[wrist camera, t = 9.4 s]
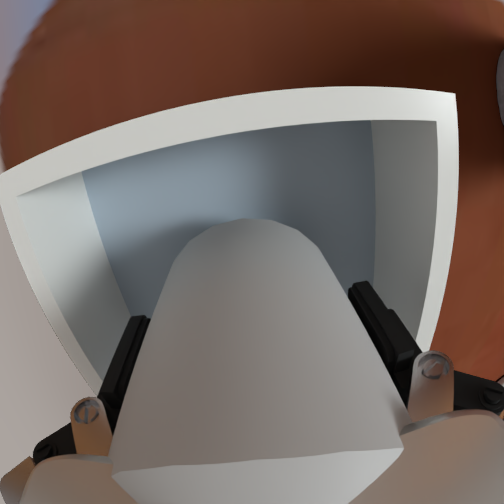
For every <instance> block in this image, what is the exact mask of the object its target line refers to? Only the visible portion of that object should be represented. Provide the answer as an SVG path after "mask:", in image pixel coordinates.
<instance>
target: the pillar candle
mask: <svg viewBox="0 0 504 504" xmlns="http://www.w3.org/2000/svg"><path fill="white" fill-rule="evenodd" d="M496 87H497V98H498V105H499V110H500V116H501V120H502V123H503V126H504V49H503V51H502V52H501V54H500V57H499V60H498V65H497V73H496Z"/></svg>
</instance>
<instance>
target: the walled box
mask: <svg viewBox="0 0 504 504" xmlns="http://www.w3.org/2000/svg"><path fill="white" fill-rule="evenodd" d="M458 175H459V142H458V121H457V108H456V97H455V94H454V93H447V92H440V91H431V90H421V89H410V88H395V87H368V86H342V87H315V88H299V89H287V90H277V91H268V92H260V93H252V94H245V95H238V96H232V97H226V98H220V99H215V100H210V101H205V102H200V103H195V104H190V105H186V106H181V107H177V108H173V109H169V110H165V111H161V112H157V113H153V114H150V115H146V116H143V117H139V118H136V119H132V120H129V121H126V122H123V123H120V124H116V125H113V126H110V127H107V128H105V129H102V130H99V131H96V132H93V133H91V134H88V135H85V136H83V137H80V138H77V139H75V140H72V141H70V142H67V143H65V144H63V145H60V146H58V147H55V148H53V149H51V150H49V151H46V152H44V153H42V154H40V155H38V156H35V157H33V158H31V159H29V160H27V161H25V162H23V163H21V164H19V165H17V166H15V167H13V168H11V169H9V170H8V171H6V172H4V173H2V174H0V206H1V210H2V213H3V216H4V219H5V223H6V226H7V229H8V231H9V234H10V237H11V240H12V243H13V245H14V248H15V250H16V253H17V256H18V258H19V260H20V263H21V265H22V268H23V270H24V272H25V275H26V277H27V279H28V281H29V284H30V285H31V288H32V290H33V292H34V294H35V296H36V298H37V300H38V302H39V304H40V306H41V308H42V310H43V312H44V314H45V316H46V317H47V319H48V321H49V323H50V325H51V327H52V329H53V330H54V332H55V334H56V335H57V337H58V339H59V340H60V342H61V344H62V346H63V347H64V349H65V350H66V352H67V353H68V355H69V357H70V358H71V360H72V361H73V363H74V364H75V366H76V367H77V369H78V370H79V372H80V373H81V375H82V376H83V377H84V379H85V381H86V382H87V383H88V385H89V386H90V387H91V389H92V390H93V392H94V393H95V394H96V395H97V396H98V393H99V391H100V388H101V385H102V383H103V380H104V378H105V375H106V373H107V370H108V368H109V365H110V363H111V360H112V358H113V356H114V353H115V351H116V349H117V346H118V344H119V342H120V339H121V337H122V335H123V332H124V330H125V328H126V326H127V323H128V321H129V319H130V317H131V316H138V315H145V316H146V317H147V318H150V319H151V318H152V315H153V313H154V310H155V307H156V305H157V302H158V299H159V297H160V294H161V292H162V289H163V287H164V284H165V282H166V279H167V277H168V274H169V272H170V269H171V267H172V264H173V262H174V260H175V259H176V258H177V256H178V255H179V254H180V252H181V251H182V250H183V248H184V247H185V246H186V245H187V243H188V242H189V241H190V240H192V239H193V238H195V237H196V236H198V235H199V234H201V233H202V232H204V231H206V230H207V229H209V228H210V227H212V226H214V225H218V224H222V223H225V222H229V221H233V220H237V219H241V218H246V219H265V220H273V221H276V222H278V223H281V224H284V225H286V226H289V227H291V228H294V229H297V230H299V231H300V232H301V233H302V234H303V235H304V236H306V237H307V238H308V239H309V240H310V241H312V242H313V243H314V244H315V245H316V246H317V247H318V248H319V250H320V251H321V253H322V255H323V256H324V258H325V260H326V261H327V263H328V265H329V266H330V268H331V270H332V271H333V273H334V275H335V276H336V278H337V280H338V282H339V283H340V285H341V287H342V288H343V290H344V292H345V294H346V295H347V297H348V288H350V287H352V285H353V283H356V282H361V281H366V280H367V281H368V282H369V283H370V284H371V286H372V287H373V289H374V290H375V291H376V293H377V294H378V296H379V297H380V298H381V300H382V301H383V303H384V304H385V306H386V307H387V309H393V310H394V311H395V312H396V314H397V315H398V317H399V318H400V320H401V321H402V322H403V324H404V325H405V327H406V328H407V330H408V331H409V333H410V334H411V336H412V337H413V339H414V340H415V341H416V343H417V345H418V346H419V348H420V349H421V351H422V352H426V351H429V348H430V345H431V342H432V338H433V335H434V331H435V328H436V324H437V320H438V317H439V313H440V309H441V304H442V300H443V296H444V291H445V286H446V281H447V276H448V271H449V265H450V259H451V253H452V246H453V239H454V231H455V222H456V211H457V197H458Z"/></svg>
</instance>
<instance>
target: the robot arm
mask: <svg viewBox="0 0 504 504" xmlns="http://www.w3.org/2000/svg"><path fill="white" fill-rule="evenodd" d="M348 299H349V301H350V302H351V304H352V306H353V308H354V310H355V311H356V313H357V315H358V317H359V318H360V320H361V322H362V324H363V326H364V328H365V329H366V331H367V333H368V335H369V337H370V339H371V340H372V342H373V344H374V346H375V348H376V350H377V352H378V354H379V356H380V357H381V359H382V361H383V363H384V365H385V367H386V369H387V371H388V373H389V375H390V377H391V379H392V381H393V383H394V385H395V387H396V389H397V391H398V393H399V395H400V397H401V399H402V401H403V403H404V405H405V407H406V409H407V412H408V414H409V416H410V418H411V420H412V422H413V423H411V424H408V425H405V426H404V427H403V429H402V430H401V432H400V435H399V437H400V439H401V441H402V444H403V446H404V450H403V451H402V453H401V454H400V456H399V457H398V458H397V459H396V460H395V462H394V463H393V464H392V465H391V466H389V467H388V468H387V469H386V470H385V471H384V472H383V473H382V474H381V475H380V476H379V477H378V478H377V479H376V480H375V481H374V482H373V483H371V484H370V485H369V486H368V487H367V488H366V489H365V490H363V491H362V492H361V493H360V494H359V495H358V496H356V497H355V498H354V499H353V500H352V501H350V502H349V503H348V504H504V377H503V378H501V379H500V380H499V381H498V382H495V381H491V380H488V379H484V378H480V377H476V376H473V375H469V374H466V373H462V372H459V371H455V370H454V367H453V363H452V361H451V359H450V358H449V357H448V356H447V355H446V354H444V353H442V352H439V351H426V352H422V351H421V349H420V348H419V346H418V345H417V343H416V341H415V340H414V339H413V337H412V336H411V334H410V333H409V331H408V330H407V328H406V327H405V325H404V324H403V322H402V321H401V320H400V318H399V317H398V315H397V314H396V312H395V311H394V310H393V309H387V307H386V306H385V304H384V303H383V301H382V300H381V298H380V297H379V296H378V294H377V293H376V291H375V290H374V289H373V287H372V286H371V284H370V283H369V282H368V281H367V280H366V281H361V282H356V283H353V285H352V287H350V288H348ZM150 321H151V319H150V318H147V317H146V316H145V315H138V316H131V317H130V319H129V321H128V323H127V326H126V328H125V330H124V332H123V335H122V337H121V339H120V342H119V344H118V346H117V349H116V351H115V353H114V356H113V358H112V360H111V363H110V365H109V368H108V370H107V373H106V375H105V378H104V380H103V383H102V385H101V388H100V391H99V393H98V396H97V398H96V397H87V398H83V399H81V400H79V401H78V402H77V403H76V404H75V405H74V407H73V408H72V411H71V414H70V415H71V416H70V419H71V422H70V423H69V424H67V425H66V426H64V427H63V428H61V429H59V430H58V431H56V432H55V433H53V434H51V435H50V436H48V437H46V438H45V439H43V440H41V441H40V442H39V443H38V444H37V445H36V447H35V449H34V451H33V458H31V457H30V456H29V457H28V458H26V459H25V460H24V461H23V462H21V463H20V464H19V465H17V466H16V467H15V468H14V469H12V470H11V471H10V472H8V473H7V474H6V475H4V476H3V478H1V481H0V491H1V494H2V496H3V499H4V501H5V503H6V504H139V503H137V502H136V501H135V500H134V499H133V498H132V497H131V496H130V495H129V494H128V493H127V492H126V491H125V490H124V489H123V488H122V487H121V486H120V485H119V484H118V483H117V482H116V481H115V480H114V479H113V478H112V477H111V474H112V469H113V465H114V464H113V462H112V460H111V459H110V458H109V457H108V454H109V450H110V446H111V442H112V439H113V435H114V431H115V428H116V424H117V421H118V417H119V414H120V411H121V407H122V404H123V401H124V397H125V394H126V391H127V388H128V385H129V382H130V378H131V375H132V372H133V369H134V366H135V363H136V360H137V357H138V354H139V352H140V349H141V346H142V343H143V340H144V337H145V334H146V332H147V329H148V326H149V323H150Z"/></svg>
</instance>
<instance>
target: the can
mask: <svg viewBox="0 0 504 504" xmlns="http://www.w3.org/2000/svg"><path fill="white" fill-rule="evenodd" d="M411 423H413V422H412V420H411V418H410V416H409V414H408V412H407V409H406V407H405V405H404V403H403V401H402V399H401V397H400V395H399V393H398V391H397V389H396V387H395V385H394V383H393V381H392V379H391V377H390V375H389V373H388V371H387V369H386V367H385V365H384V363H383V361H382V359H381V357H380V356H379V354H378V352H377V350H376V348H375V346H374V344H373V342H372V340H371V339H370V337H369V335H368V333H367V331H366V329H365V328H364V326H363V324H362V322H361V320H360V318H359V317H358V315H357V313H356V311H355V310H354V308H353V306H352V304H351V302H350V301H349V299H348V297H347V295H346V294H345V292H344V290H343V288H342V287H341V285H340V283H339V282H338V280H337V278H336V276H335V275H334V273H333V271H332V270H331V268H330V266H329V265H328V263H327V261H326V260H325V258H324V256H323V255H322V253H321V251H320V250H319V248H318V247H317V246H316V245H315V244H314V243H313V242H312V241H310V240H309V239H308V238H307V237H306V236H304V235H303V234H302V233H301V232H300V231H299V230H297V229H294V228H291V227H289V226H286V225H284V224H281V223H278V222H276V221H273V220H265V219H246V218H241V219H237V220H233V221H229V222H225V223H222V224H218V225H214V226H212V227H210V228H209V229H207V230H206V231H204V232H202V233H201V234H199V235H198V236H196V237H195V238H193V239H192V240H190V241H189V242H188V243H187V245H186V246H185V247H184V248H183V250H182V251H181V252H180V254H179V255H178V256H177V258H176V259H175V260H174V262H173V264H172V267H171V269H170V272H169V274H168V277H167V279H166V282H165V284H164V287H163V289H162V292H161V294H160V297H159V299H158V302H157V305H156V307H155V310H154V313H153V315H152V318H151V321H150V323H149V326H148V329H147V332H146V334H145V337H144V340H143V343H142V346H141V349H140V352H139V354H138V357H137V360H136V363H135V366H134V369H133V372H132V375H131V378H130V382H129V385H128V388H127V391H126V394H125V397H124V401H123V404H122V407H121V411H120V414H119V417H118V421H117V424H116V428H115V431H114V435H113V439H112V442H111V446H110V450H109V454H108V457H109V458H110V459H111V460H112V462H113V464H114V465H113V469H112V474H111V477H112V478H113V479H114V480H115V481H116V482H117V483H118V484H119V485H120V486H121V487H122V488H123V489H124V490H125V491H126V492H127V493H128V494H129V495H130V496H131V497H132V498H133V499H134V500H135V501H136V502H137V503H139V504H348V503H349V502H350V501H352V500H353V499H354V498H355V497H356V496H358V495H359V494H360V493H361V492H362V491H363V490H365V489H366V488H367V487H368V486H369V485H370V484H371V483H373V482H374V481H375V480H376V479H377V478H378V477H379V476H380V475H381V474H382V473H383V472H384V471H385V470H386V469H387V468H388V467H389V466H391V465H392V464H393V463H394V462H395V460H396V459H397V458H398V457H399V456H400V454H401V453H402V451H403V450H404V446H403V444H402V441H401V439H400V437H399V435H400V432H401V430H402V429H403V427H404V426H405V425H408V424H411Z"/></svg>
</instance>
